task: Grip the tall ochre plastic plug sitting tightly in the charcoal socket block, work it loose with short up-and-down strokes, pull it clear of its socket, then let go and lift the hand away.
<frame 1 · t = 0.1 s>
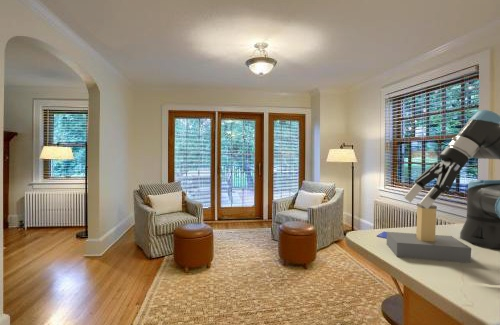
hand: (414, 203, 95), 16 cm above the table, tool tilted 35°, fingers open, 13 cm apart
hard drive: (397, 241, 106), on the table
plug: (425, 227, 90), point 9 cm above the table, slide at 0.7 cm, touching gripper
socket block: (424, 254, 91), on the table
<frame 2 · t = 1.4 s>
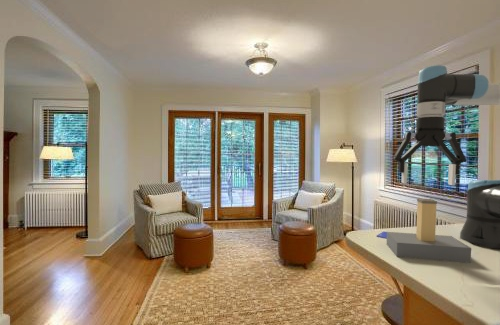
hand: (427, 184, 90), 23 cm above the table, tool pointing down, fingers open, 13 cm apart
plug: (425, 223, 90), point 10 cm above the table, slide at 2.2 cm
everything else where it was.
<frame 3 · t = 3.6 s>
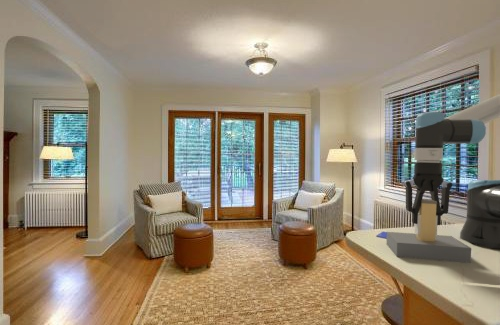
hand: (425, 234, 90), 7 cm above the table, tool pointing down, fingers closed on plug, 4 cm apart
plug: (425, 223, 90), point 10 cm above the table, slide at 2.2 cm, touching gripper
everything else where it was.
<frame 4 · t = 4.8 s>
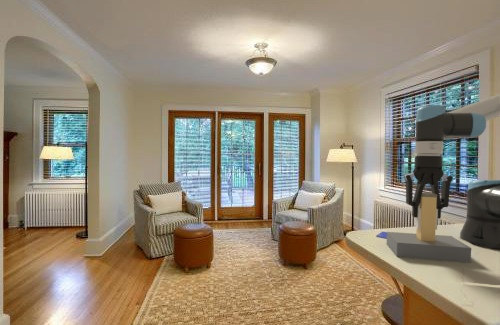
hand: (425, 227, 90), 9 cm above the table, tool pointing down, fingers closed on plug, 4 cm apart
plug: (426, 216, 90), point 12 cm above the table, slide at 4.3 cm, touching gripper
everything else where it was.
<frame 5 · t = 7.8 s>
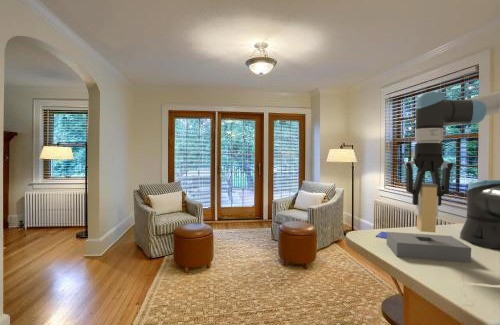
hand: (426, 215, 90), 13 cm above the table, tool pointing down, fingers closed on plug, 4 cm apart
plug: (426, 207, 90), point 15 cm above the table, slide at 7.4 cm, touching gripper
everything else where it was.
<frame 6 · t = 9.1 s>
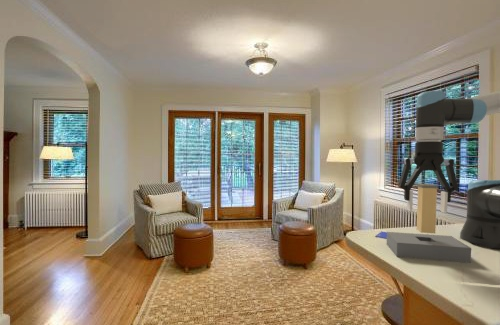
hand: (426, 211, 90), 14 cm above the table, tool pointing down, fingers open, 9 cm apart
plug: (426, 208, 90), point 15 cm above the table, slide at 7.1 cm
everything else where it was.
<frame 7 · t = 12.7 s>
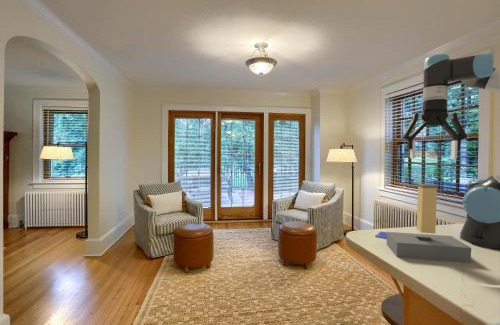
hand: (432, 158, 103), 31 cm above the table, tool pointing down, fingers open, 13 cm apart
nothing on the table moved.
at the end: plug slide at 7.1 cm; the gripper is holding nothing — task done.
